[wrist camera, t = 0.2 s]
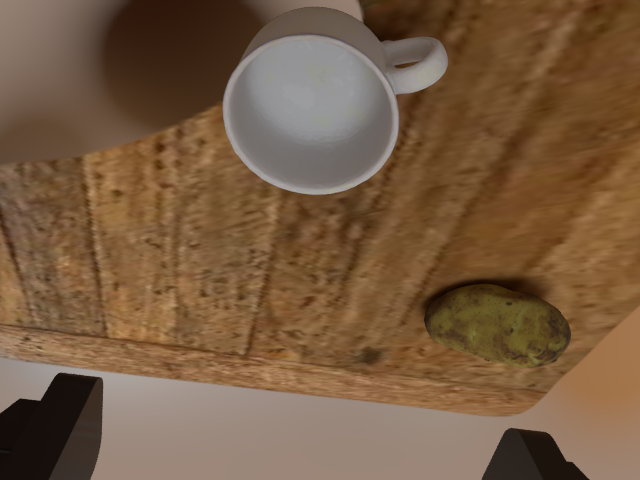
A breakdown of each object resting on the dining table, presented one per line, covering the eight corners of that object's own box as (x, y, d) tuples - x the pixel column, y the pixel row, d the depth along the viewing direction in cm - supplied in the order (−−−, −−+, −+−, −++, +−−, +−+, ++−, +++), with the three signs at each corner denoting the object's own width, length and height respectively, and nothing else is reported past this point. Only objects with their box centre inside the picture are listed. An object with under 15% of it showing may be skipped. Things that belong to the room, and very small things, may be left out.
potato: (435, 263, 51) (446, 331, 46) (564, 273, 52) (590, 342, 46) (417, 313, 57) (425, 379, 52) (533, 323, 58) (553, 389, 52)
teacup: (269, 141, 42) (257, 208, 36) (215, 8, 35) (190, 65, 29) (446, 104, 39) (462, 170, 34) (428, -51, 32) (445, 1, 26)
